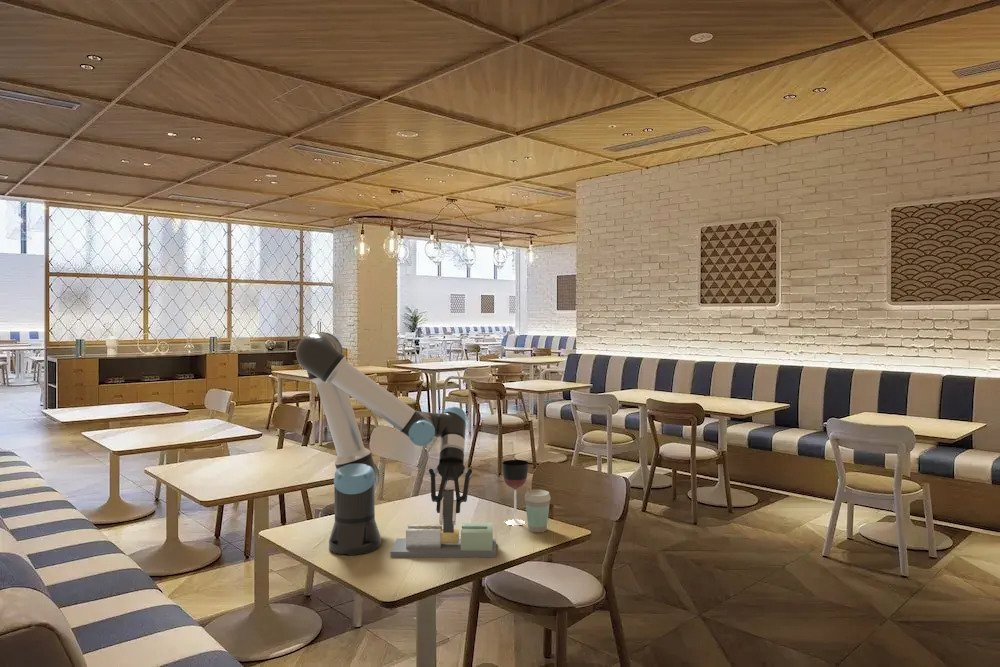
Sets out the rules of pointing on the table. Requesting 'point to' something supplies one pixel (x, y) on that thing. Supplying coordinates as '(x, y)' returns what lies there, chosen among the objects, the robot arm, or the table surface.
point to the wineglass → (515, 481)
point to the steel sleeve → (423, 536)
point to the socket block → (477, 537)
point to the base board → (437, 551)
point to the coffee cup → (537, 509)
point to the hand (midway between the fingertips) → (447, 522)
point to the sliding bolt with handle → (448, 520)
